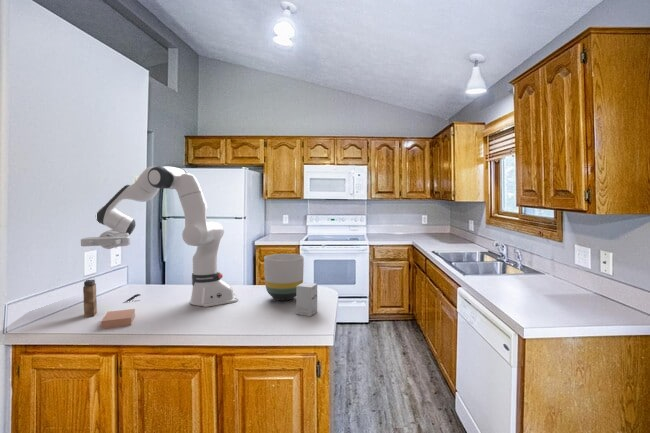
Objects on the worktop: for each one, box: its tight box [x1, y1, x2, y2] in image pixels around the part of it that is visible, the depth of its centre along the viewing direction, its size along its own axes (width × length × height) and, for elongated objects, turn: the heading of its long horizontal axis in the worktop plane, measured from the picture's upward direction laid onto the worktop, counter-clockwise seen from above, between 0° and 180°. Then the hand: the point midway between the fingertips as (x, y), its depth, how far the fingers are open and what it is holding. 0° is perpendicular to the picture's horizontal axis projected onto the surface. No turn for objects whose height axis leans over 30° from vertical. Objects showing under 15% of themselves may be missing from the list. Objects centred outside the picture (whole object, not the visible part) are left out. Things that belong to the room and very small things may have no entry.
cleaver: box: [122, 293, 141, 304], centre depth 166 cm, size 29×1×10 cm
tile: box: [100, 308, 136, 329], centre depth 140 cm, size 10×3×12 cm
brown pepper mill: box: [82, 279, 98, 318], centre depth 148 cm, size 4×5×15 cm
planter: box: [263, 253, 305, 302], centre depth 172 cm, size 20×20×21 cm
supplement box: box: [295, 282, 318, 317], centre depth 151 cm, size 7×7×13 cm
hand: (103, 243), depth 159 cm, fingers open, 8 cm apart
